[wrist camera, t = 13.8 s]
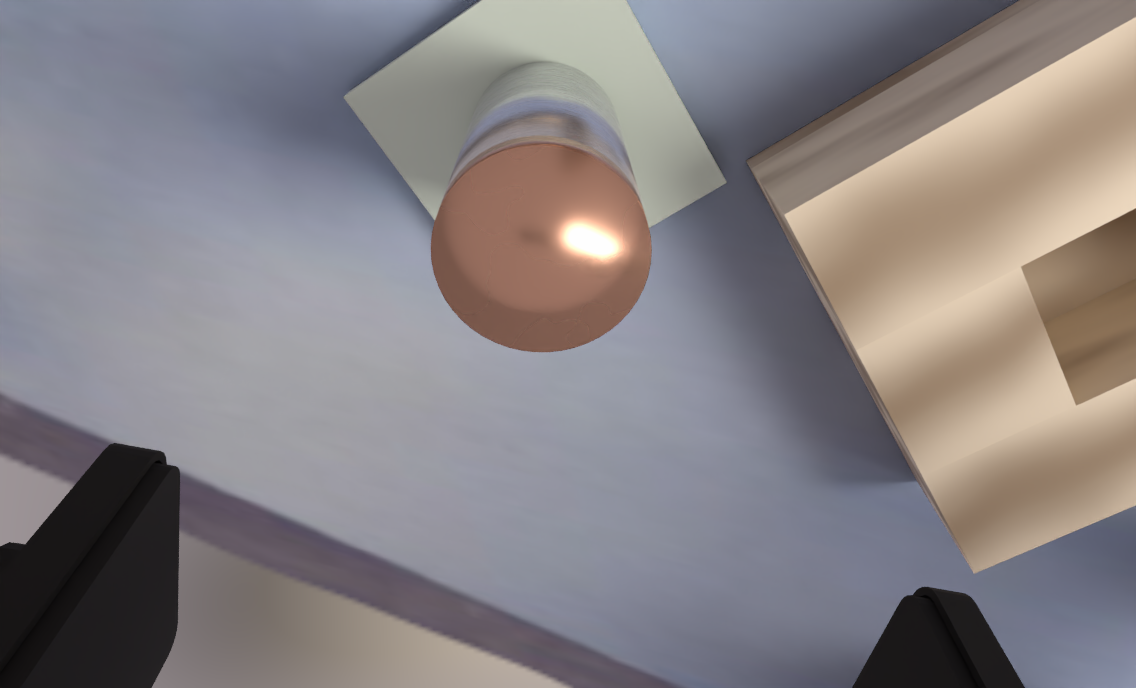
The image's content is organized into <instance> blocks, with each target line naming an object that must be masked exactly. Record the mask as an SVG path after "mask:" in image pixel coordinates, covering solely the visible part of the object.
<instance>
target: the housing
mask: <svg viewBox="0 0 1136 688" xmlns="http://www.w3.org/2000/svg"><path fill="white" fill-rule="evenodd" d="M746 162H747V164H748V166H749V168H750V170H751V172H752V173H753V175H754V177H755V179H756V181H757V183H758V185H759V187H760V188H761V190H762V192H763V194H764V196H765V198H766V200H767V202H768V203H769V205H770V207H771V209H772V211H773V213H774V215H775V216H776V218H777V220H778V222H779V224H780V226H781V228H782V230H783V231H784V233H785V235H786V237H787V239H788V241H789V243H790V244H791V246H792V248H793V250H794V252H795V254H796V256H797V258H798V259H799V261H800V263H801V265H802V267H803V269H804V271H805V273H806V274H807V276H808V278H809V280H810V282H811V284H812V286H813V287H814V289H815V291H816V293H817V295H818V297H819V299H820V301H821V302H822V304H823V306H824V308H825V310H826V312H827V314H828V316H829V317H830V319H831V321H832V323H833V325H834V327H835V329H836V330H837V332H838V334H839V336H840V338H841V340H842V342H843V344H844V345H845V347H846V349H847V351H848V353H849V355H850V357H851V358H852V360H853V362H854V364H855V366H856V368H857V370H858V372H859V373H860V375H861V377H862V379H863V381H864V383H865V385H866V387H867V388H868V390H869V392H870V394H871V396H872V398H873V400H874V401H875V403H876V405H877V407H878V409H879V411H880V413H881V415H882V416H883V418H884V420H885V422H886V424H887V426H888V428H889V430H890V431H891V433H892V435H893V437H894V439H895V441H896V443H897V444H898V446H899V448H900V450H901V452H902V454H903V456H904V458H905V459H906V461H907V463H908V465H909V467H910V469H911V471H912V472H913V474H914V476H915V478H916V480H917V482H918V483H919V485H920V487H921V488H922V490H923V492H924V493H925V495H926V496H927V498H928V500H929V501H930V503H931V505H932V506H933V508H934V509H935V511H936V513H937V514H938V516H939V517H940V519H941V521H942V522H943V524H944V526H945V527H946V529H947V530H948V532H949V534H950V535H951V537H952V539H953V540H954V542H955V543H956V545H957V547H958V548H959V550H960V552H961V553H962V555H963V556H964V558H965V560H966V561H967V563H968V565H969V566H970V568H971V569H972V571H973V573H974V574H975V573H977V572H980V571H982V570H984V569H987V568H989V567H991V566H994V565H996V564H998V563H1001V562H1003V561H1005V560H1008V559H1010V558H1013V557H1015V556H1017V555H1020V554H1022V553H1024V552H1027V551H1029V550H1031V549H1034V548H1036V547H1039V546H1041V545H1043V544H1046V543H1048V542H1050V541H1053V540H1055V539H1057V538H1060V537H1062V536H1065V535H1067V534H1069V533H1072V532H1074V531H1076V530H1079V529H1081V528H1083V527H1086V526H1088V525H1091V524H1093V523H1095V522H1098V521H1100V520H1102V519H1105V518H1107V517H1109V516H1112V515H1114V514H1116V513H1119V512H1121V511H1124V510H1126V509H1128V508H1131V507H1133V506H1135V505H1136V0H1019V1H1018V2H1016V3H1014V4H1012V5H1011V6H1009V7H1007V8H1006V9H1004V10H1002V11H1001V12H999V13H997V14H995V15H994V16H992V17H990V18H989V19H987V20H985V21H983V22H982V23H980V24H978V25H977V26H975V27H973V28H972V29H970V30H968V31H966V32H965V33H963V34H961V35H960V36H958V37H956V38H954V39H953V40H951V41H949V42H948V43H946V44H944V45H943V46H941V47H939V48H937V49H936V50H934V51H932V52H931V53H929V54H927V55H925V56H924V57H922V58H920V59H919V60H917V61H915V62H914V63H912V64H910V65H908V66H907V67H905V68H903V69H902V70H900V71H898V72H896V73H895V74H893V75H891V76H890V77H888V78H886V79H885V80H883V81H881V82H879V83H878V84H876V85H874V86H873V87H871V88H869V89H867V90H866V91H864V92H862V93H861V94H859V95H857V96H856V97H854V98H852V99H850V100H849V101H847V102H845V103H844V104H842V105H840V106H838V107H837V108H835V109H833V110H832V111H830V112H828V113H827V114H825V115H823V116H821V117H820V118H818V119H816V120H815V121H813V122H811V123H809V124H808V125H806V126H804V127H803V128H801V129H799V130H798V131H796V132H794V133H792V134H791V135H789V136H787V137H786V138H784V139H782V140H780V141H779V142H777V143H775V144H774V145H772V146H770V147H769V148H767V149H765V150H763V151H762V152H760V153H758V154H757V155H755V156H753V157H751V158H750V159H748V160H746Z"/></svg>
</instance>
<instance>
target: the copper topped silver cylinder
mask: <svg viewBox="0 0 1136 688" xmlns="http://www.w3.org/2000/svg"><path fill="white" fill-rule="evenodd" d="M651 251H652V249H651V236H650V232H649V227H648V223H647V219H646V216H645V212H644V208H643V205H642V201H641V198H640V194H639V191H638V187H637V184H636V180H635V177H634V173H633V170H632V166H631V163H630V159H629V156H628V152H627V149H626V145H625V142H624V138H623V135H622V131H621V128H620V124H619V120H618V117H617V114H616V111H615V108H614V106H613V104H612V102H611V100H610V98H609V97H608V95H607V94H606V92H605V91H604V90H603V88H602V87H601V86H600V85H599V84H598V83H597V82H596V81H595V80H593V79H592V78H591V77H590V76H589V75H587V74H585V73H584V72H582V71H581V70H579V69H576V68H574V67H572V66H569V65H566V64H562V63H557V62H547V61H540V62H531V63H527V64H523V65H520V66H517V67H515V68H513V69H511V70H509V71H507V72H505V73H504V74H502V75H501V76H500V77H498V78H497V79H496V80H494V82H493V83H492V84H491V85H490V86H489V87H488V88H487V89H486V90H485V92H484V93H483V95H482V96H481V98H480V100H479V102H478V103H477V105H476V108H475V111H474V113H473V116H472V119H471V122H470V125H469V127H468V130H467V133H466V136H465V138H464V141H463V144H462V147H461V150H460V152H459V155H458V158H457V161H456V163H455V166H454V169H453V172H452V175H451V177H450V180H449V183H448V186H447V188H446V191H445V194H444V197H443V200H442V202H441V205H440V208H439V211H438V213H437V216H436V219H435V222H434V227H433V231H432V238H431V260H432V266H433V270H434V275H435V278H436V281H437V283H438V286H439V288H440V290H441V292H442V294H443V296H444V298H445V300H446V301H447V303H448V304H449V306H450V307H451V308H452V310H453V311H454V312H455V313H456V314H457V315H458V317H459V318H460V319H461V320H462V321H463V322H464V323H466V324H467V325H468V326H469V327H470V328H471V329H473V330H474V331H476V332H477V333H479V334H480V335H482V336H483V337H485V338H487V339H489V340H491V341H493V342H495V343H498V344H501V345H503V346H506V347H509V348H513V349H518V350H522V351H530V352H554V351H562V350H567V349H571V348H575V347H578V346H581V345H584V344H586V343H589V342H591V341H593V340H595V339H597V338H599V337H601V336H602V335H604V334H605V333H607V332H608V331H610V330H611V329H612V328H613V327H615V326H616V325H617V324H618V323H619V322H621V321H622V319H623V318H624V317H625V316H626V315H627V314H628V313H629V312H630V310H631V309H632V308H633V306H634V305H635V303H636V302H637V300H638V298H639V297H640V295H641V293H642V291H643V289H644V286H645V283H646V280H647V278H648V274H649V269H650V264H651Z"/></svg>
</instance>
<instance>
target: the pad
mask: <svg viewBox="0 0 1136 688" xmlns="http://www.w3.org/2000/svg"><path fill="white" fill-rule="evenodd" d="M540 61H547V62H557V63H562V64H566V65H569V66H572V67H574V68H576V69H579V70H581V71H582V72H584V73H585V74H587V75H589V76H590V77H591V78H592V79H593V80H595V81H596V82H597V83H598V84H599V85H600V86H601V87H602V88H603V90H604V91H605V92H606V94H607V95H608V97H609V98H610V100H611V102H612V104H613V106H614V108H615V111H616V114H617V117H618V120H619V124H620V128H621V131H622V135H623V138H624V142H625V145H626V149H627V152H628V156H629V159H630V163H631V166H632V170H633V173H634V177H635V180H636V184H637V187H638V191H639V194H640V198H641V201H642V205H643V208H644V212H645V216H646V219H647V223H648V227H649V228H650V227H652V226H654V225H655V224H657V223H659V222H660V221H662V220H664V219H666V218H667V217H669V216H671V215H672V214H674V213H676V212H678V211H679V210H681V209H683V208H684V207H686V206H688V205H690V204H691V203H693V202H695V201H696V200H698V199H700V198H702V197H703V196H705V195H707V194H708V193H710V192H712V191H714V190H715V189H717V188H719V187H720V186H722V185H724V184H726V183H727V182H726V180H725V178H724V176H723V175H722V173H721V171H720V169H719V167H718V166H717V164H716V162H715V160H714V158H713V157H712V155H711V153H710V151H709V149H708V147H707V146H706V144H705V142H704V140H703V138H702V137H701V135H700V133H699V131H698V129H697V128H696V126H695V124H694V122H693V120H692V119H691V117H690V115H689V113H688V111H687V110H686V108H685V106H684V104H683V102H682V100H681V99H680V97H679V95H678V93H677V91H676V90H675V88H674V86H673V84H672V82H671V81H670V79H669V77H668V75H667V73H666V72H665V70H664V68H663V66H662V64H661V63H660V61H659V59H658V57H657V55H656V53H655V52H654V50H653V48H652V46H651V44H650V43H649V41H648V39H647V37H646V35H645V34H644V32H643V30H642V28H641V26H640V25H639V23H638V21H637V19H636V17H635V16H634V14H633V12H632V10H631V8H630V6H629V5H628V3H627V1H626V0H479V1H478V2H476V3H475V4H474V5H472V6H471V7H469V8H468V9H466V10H465V11H463V12H462V13H461V14H459V15H458V16H456V17H455V18H453V19H452V20H451V21H449V22H448V23H446V24H445V25H443V26H442V27H441V28H439V29H438V30H436V31H435V32H433V33H432V34H430V35H429V36H428V37H426V38H425V39H423V40H422V41H420V42H419V43H418V44H416V45H415V46H413V47H412V48H410V49H409V50H408V51H406V52H405V53H403V54H402V55H400V56H399V57H397V58H396V59H395V60H393V61H392V62H390V63H389V64H387V65H386V66H385V67H383V68H382V69H380V70H379V71H377V72H376V73H375V74H373V75H372V76H370V77H369V78H367V79H366V80H364V81H363V82H362V83H360V84H359V85H357V86H356V87H354V88H353V89H352V90H350V91H349V92H348V93H347V94H346V95H345V96H344V97H343V98H344V99H345V100H346V102H347V103H348V104H349V106H350V107H351V108H352V110H353V111H354V112H355V114H356V115H357V116H358V118H359V119H360V120H361V122H362V123H363V125H364V126H365V127H366V129H367V130H368V131H369V133H370V134H371V135H372V137H373V138H374V139H375V141H376V142H377V143H378V145H379V146H380V147H381V149H382V150H383V151H384V153H385V154H386V155H387V157H388V158H389V159H390V161H391V162H392V164H393V165H394V166H395V168H396V169H397V170H398V172H399V173H400V174H401V176H402V177H403V178H404V180H405V181H406V182H407V184H408V185H409V186H410V188H411V189H412V190H413V192H414V193H415V194H416V196H417V197H418V198H419V200H420V201H421V203H422V204H423V205H424V207H425V208H426V209H427V211H428V212H429V213H430V215H431V216H432V217H433V219H434V220H435V219H436V216H437V213H438V211H439V208H440V205H441V202H442V200H443V197H444V194H445V191H446V188H447V186H448V183H449V180H450V177H451V175H452V172H453V169H454V166H455V163H456V161H457V158H458V155H459V152H460V150H461V147H462V144H463V141H464V138H465V136H466V133H467V130H468V127H469V125H470V122H471V119H472V116H473V113H474V111H475V108H476V105H477V103H478V102H479V100H480V98H481V96H482V95H483V93H484V92H485V90H486V89H487V88H488V87H489V86H490V85H491V84H492V83H493V82H494V80H496V79H497V78H498V77H500V76H501V75H502V74H504V73H505V72H507V71H509V70H511V69H513V68H515V67H517V66H520V65H523V64H527V63H531V62H540Z"/></svg>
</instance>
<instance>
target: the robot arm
mask: <svg viewBox="0 0 1136 688" xmlns="http://www.w3.org/2000/svg"><path fill="white" fill-rule="evenodd" d="M179 504H180V471H179V469H178V467H176V466H171V465H167V464H166V457H165V454H164V453H163V452H161V451H157V450H151V449H145V448H140V447H134V446H128V445H123V444H117V443H113V444H110V445H109V446H108V447H107V448H106V449H105V450H104V451H103V452H102V453H101V454H100V456H99V457H98V458H97V459H96V460H95V462H94V463H93V464H92V465H91V466H90V468H89V469H88V470H87V471H86V472H85V474H84V475H83V476H82V477H81V478H80V480H79V481H78V482H77V483H76V484H75V486H74V487H73V488H72V489H71V490H70V492H69V493H68V494H67V495H66V496H65V498H64V499H63V500H62V501H61V503H60V504H59V505H58V506H57V507H56V508H55V510H54V511H53V512H52V513H51V514H50V516H49V517H48V518H47V519H46V520H45V522H44V523H43V524H42V525H41V526H40V528H39V529H38V530H37V531H36V532H35V534H34V535H33V536H32V537H31V538H30V540H29V541H28V542H27V543H26V544H19V543H11V542H9V543H7V544H5V545H3V546H0V688H152V686H153V684H154V682H155V680H156V678H157V676H158V674H159V672H160V670H161V668H162V667H163V664H164V663H165V661H166V659H167V657H168V655H169V653H170V651H171V648H172V645H173V643H174V639H175V636H176V631H177V624H178V568H179ZM852 688H1025V687H1024V685H1023V684H1022V682H1021V680H1020V679H1019V677H1018V675H1017V673H1016V672H1015V670H1014V668H1013V667H1012V665H1011V663H1010V661H1009V660H1008V658H1007V656H1006V655H1005V653H1004V651H1003V649H1002V648H1001V646H1000V644H999V643H998V641H997V639H996V637H995V636H994V634H993V632H992V630H991V629H990V627H989V625H988V624H987V622H986V620H985V618H984V617H983V615H982V613H981V612H980V610H979V608H978V606H977V605H976V603H975V602H974V601H973V599H972V598H971V597H970V596H968V595H966V594H964V593H959V592H953V591H947V590H942V589H936V588H930V587H921V588H919V589H918V590H916V592H915V593H914V594H913V596H912V595H907V596H906V597H904V598H903V599H902V600H901V602H900V603H899V605H898V607H897V609H896V611H895V612H894V614H893V616H892V618H891V619H890V621H889V623H888V625H887V627H886V628H885V630H884V632H883V634H882V635H881V637H880V639H879V641H878V643H877V644H876V646H875V648H874V650H873V652H872V653H871V655H870V657H869V659H868V660H867V662H866V664H865V666H864V668H863V669H862V671H861V673H860V675H859V677H858V678H857V680H856V682H855V684H854V685H853V687H852Z"/></svg>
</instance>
